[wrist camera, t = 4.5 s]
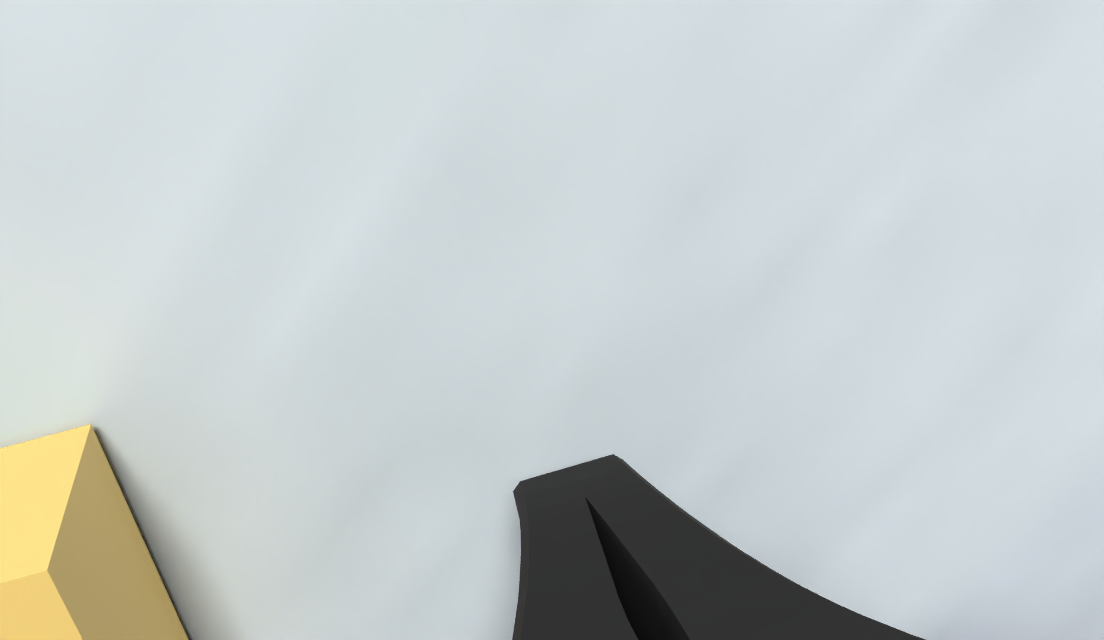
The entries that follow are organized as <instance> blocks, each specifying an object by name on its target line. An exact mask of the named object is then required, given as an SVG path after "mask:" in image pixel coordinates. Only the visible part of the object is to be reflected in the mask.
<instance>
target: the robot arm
mask: <svg viewBox="0 0 1104 640" xmlns="http://www.w3.org/2000/svg"><path fill="white" fill-rule="evenodd" d="M513 493H514V497H515V502H516V506H517V510H518V514H519V518H520V527H521V564H520V582H519V596H518V605H517V611H516V618H515V625H514V632H513V639H512V640H925V639H922V638H919V637H916V636H913V635H911V634H908V633H906V632H903V631H901V630H898V629H896V628H893V627H891V626H888V625H885V624H883V623H880V622H878V621H875V620H873V619H870V618H868V617H865V616H863V615H860V614H858V613H856V612H854V611H851V610H849V609H847V608H845V607H842V606H840V605H838V604H836V603H834V602H832V601H830V600H828V599H826V598H824V597H822V596H820V595H818V594H816V593H814V592H812V591H810V590H808V589H806V588H804V587H802V586H800V585H798V584H797V583H795V582H793V581H791V580H789V579H787V578H786V577H784V576H782V575H781V574H779V573H777V572H775V571H774V570H772V569H770V568H769V567H767V566H765V565H764V564H762V563H760V562H759V561H757V560H756V559H754V558H752V557H751V556H749V555H748V554H746V553H744V552H743V551H741V550H740V549H738V548H737V547H735V546H734V545H732V544H731V543H729V542H728V541H726V540H725V539H723V538H722V537H720V536H719V535H717V534H716V533H715V532H713V531H712V530H710V529H709V528H708V527H706V526H705V525H703V524H702V523H701V522H699V521H698V520H696V519H695V518H694V517H692V516H691V515H689V514H688V513H687V512H685V511H684V510H683V509H681V508H680V507H679V506H677V505H676V504H675V503H674V502H672V501H671V500H670V499H669V498H667V497H666V496H665V495H664V494H662V493H661V492H660V491H658V490H657V489H656V488H655V487H654V486H652V485H651V484H650V483H649V482H648V481H646V480H645V479H644V478H643V477H642V476H641V475H639V474H638V473H637V472H636V471H635V470H634V469H632V468H631V467H630V466H629V465H628V464H627V463H626V462H625V461H624V460H622V459H620V458H619V457H617V456H615V455H614V454H613V455H609V456H606V457H602V458H599V459H595V460H592V461H588V462H585V463H582V464H578V465H575V466H571V467H568V468H564V469H561V470H558V471H554V472H551V473H547V474H544V475H540V476H537V477H534V478H530V479H527V480H523V481H520V482H519V484H518V485H517V487H516V488H515V489H514V491H513Z"/></svg>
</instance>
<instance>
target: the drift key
mask: <svg viewBox="0 0 1104 640" xmlns="http://www.w3.org/2000/svg"><path fill="white" fill-rule="evenodd" d="M0 640H188V637H187V635H186V633H185V631H184V629H183V626H182V624H181V622H180V620H179V618H178V615H177V613H176V611H175V609H174V606H173V604H172V602H171V600H170V598H169V595H168V593H167V591H166V589H165V587H164V584H163V582H162V580H161V578H160V575H159V573H158V571H157V569H156V567H155V564H154V562H153V560H152V558H151V556H150V553H149V551H148V549H147V547H146V544H145V542H144V540H143V538H142V536H141V533H140V531H139V529H138V527H137V525H136V522H135V520H134V518H133V516H132V513H131V511H130V509H129V507H128V505H127V502H126V500H125V498H124V496H123V494H122V491H121V489H120V487H119V485H118V482H117V480H116V478H115V476H114V474H113V471H112V469H111V467H110V465H109V463H108V460H107V458H106V456H105V454H104V452H103V449H102V447H101V445H100V443H99V440H98V438H97V436H96V434H95V432H94V429H93V427H92V425H91V424H89V425H86V426H82V427H78V428H74V429H71V430H67V431H63V432H60V433H56V434H52V435H49V436H45V437H41V438H37V439H34V440H30V441H26V442H23V443H19V444H15V445H11V446H8V447H4V448H0Z"/></svg>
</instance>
